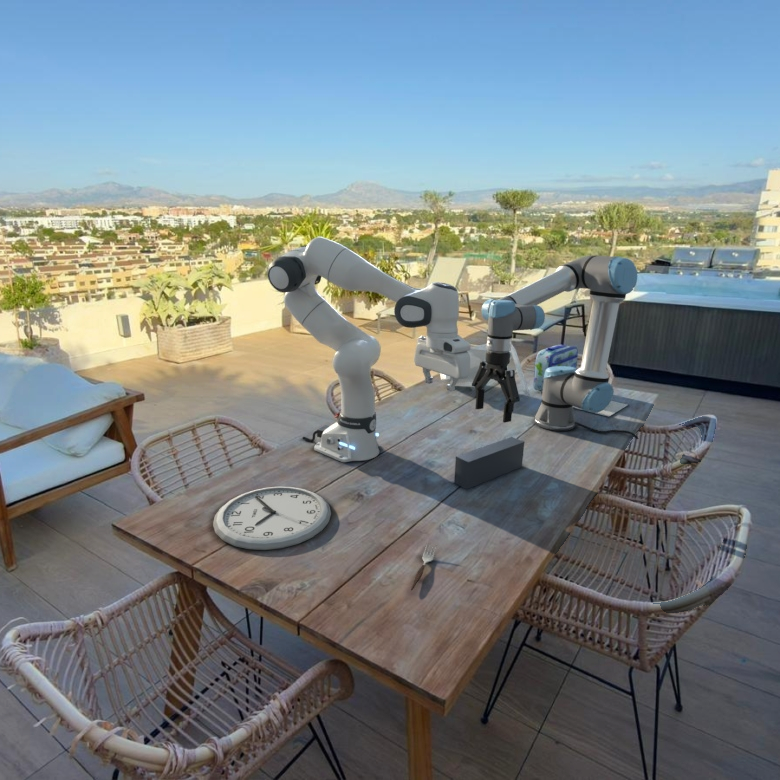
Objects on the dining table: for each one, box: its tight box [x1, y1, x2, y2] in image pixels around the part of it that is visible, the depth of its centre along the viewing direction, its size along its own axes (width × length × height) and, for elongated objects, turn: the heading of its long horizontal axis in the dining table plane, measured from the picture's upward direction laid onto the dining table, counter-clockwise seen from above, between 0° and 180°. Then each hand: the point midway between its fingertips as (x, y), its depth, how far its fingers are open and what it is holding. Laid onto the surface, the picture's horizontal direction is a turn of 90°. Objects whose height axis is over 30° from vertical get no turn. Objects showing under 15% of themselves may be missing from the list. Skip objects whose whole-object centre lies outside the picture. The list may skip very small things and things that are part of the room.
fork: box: [410, 542, 438, 591], centre depth 116 cm, size 3×16×2 cm, turn 160°
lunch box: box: [533, 344, 579, 392], centre depth 247 cm, size 26×11×21 cm, turn 134°
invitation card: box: [573, 400, 629, 418], centre depth 226 cm, size 21×1×15 cm
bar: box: [453, 436, 525, 490], centre depth 161 cm, size 26×5×9 cm, turn 128°
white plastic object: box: [439, 343, 531, 397], centre depth 245 cm, size 37×45×31 cm
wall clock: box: [212, 486, 332, 551], centre depth 136 cm, size 30×2×30 cm
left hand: (439, 386), depth 154 cm, fingers open, 8 cm apart
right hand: (492, 415), depth 169 cm, fingers open, 13 cm apart
